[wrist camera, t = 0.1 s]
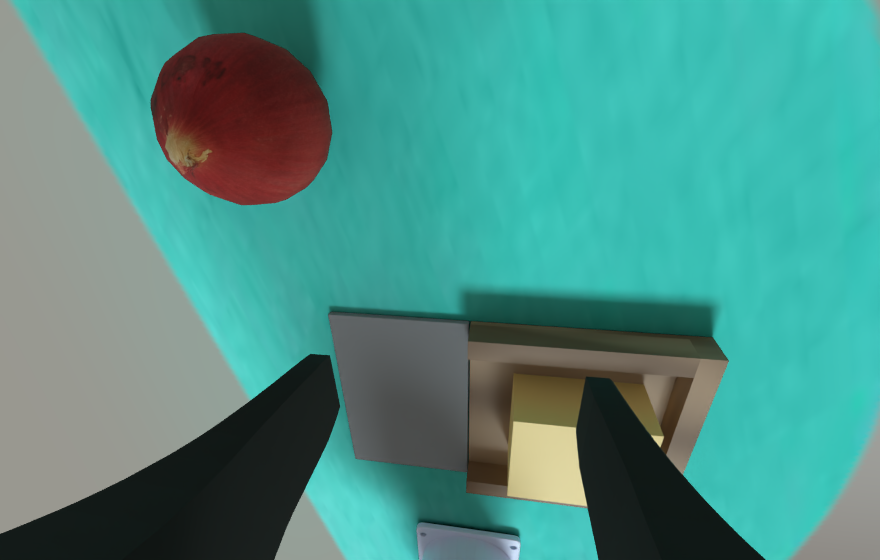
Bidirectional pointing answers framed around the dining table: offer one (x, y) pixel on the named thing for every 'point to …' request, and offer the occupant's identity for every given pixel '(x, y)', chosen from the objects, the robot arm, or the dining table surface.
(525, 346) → the brown wooden tray
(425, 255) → the dining table surface
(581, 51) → the dining table surface
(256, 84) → the onion
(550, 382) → the block
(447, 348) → the mat
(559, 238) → the dining table surface
